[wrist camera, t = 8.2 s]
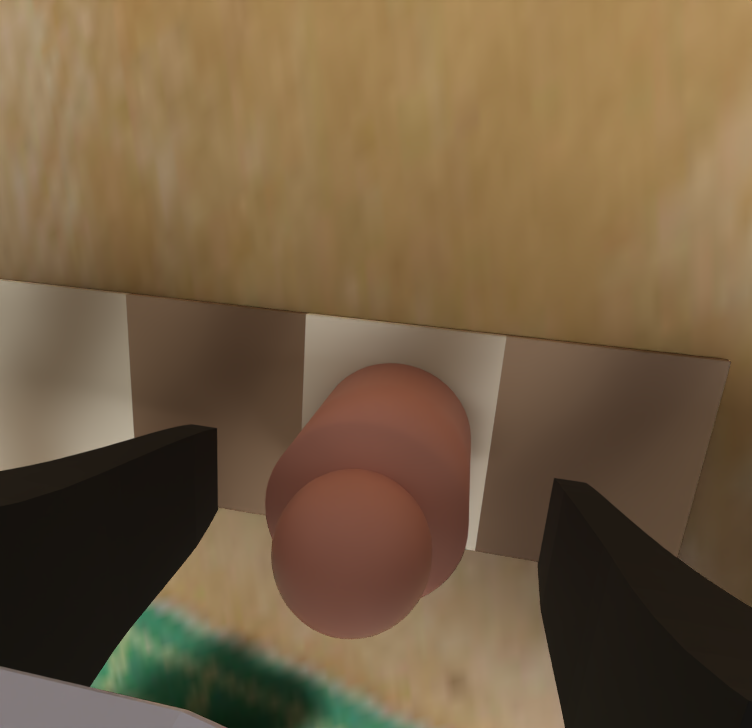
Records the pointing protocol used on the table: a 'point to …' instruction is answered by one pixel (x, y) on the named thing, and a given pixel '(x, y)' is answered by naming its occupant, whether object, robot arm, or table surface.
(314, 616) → the pawn
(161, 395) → the track board
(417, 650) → the table surface
